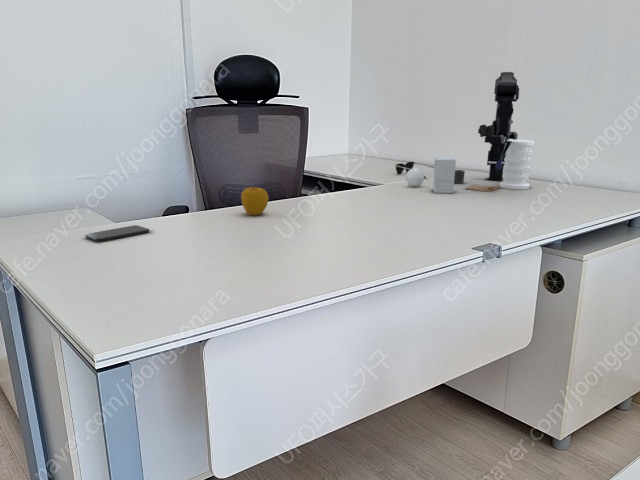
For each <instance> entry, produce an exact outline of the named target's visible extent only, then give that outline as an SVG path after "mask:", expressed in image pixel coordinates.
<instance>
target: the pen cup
mask: <svg viewBox="0 0 640 480" xmlns="http://www.w3.org/2000/svg"><path fill="white" fill-rule="evenodd" d="M464 183H465V170H464V169H455V177H454V185H462V184H464Z"/></svg>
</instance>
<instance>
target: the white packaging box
mask: <svg viewBox="0 0 640 480" xmlns="http://www.w3.org/2000/svg"><path fill="white" fill-rule="evenodd" d="M456 161H457V159H456V158H454V157H453V156H452V157H451V156H444V157H443V156H440V157H439V156H435V157H434V161H433V162H434V165H433V167H434V168H433V178H432V180H433V181H432V190H433V193H434V194H453V193H454V188H455V184H454V177H455V170H456V164H457V163H456Z"/></svg>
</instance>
